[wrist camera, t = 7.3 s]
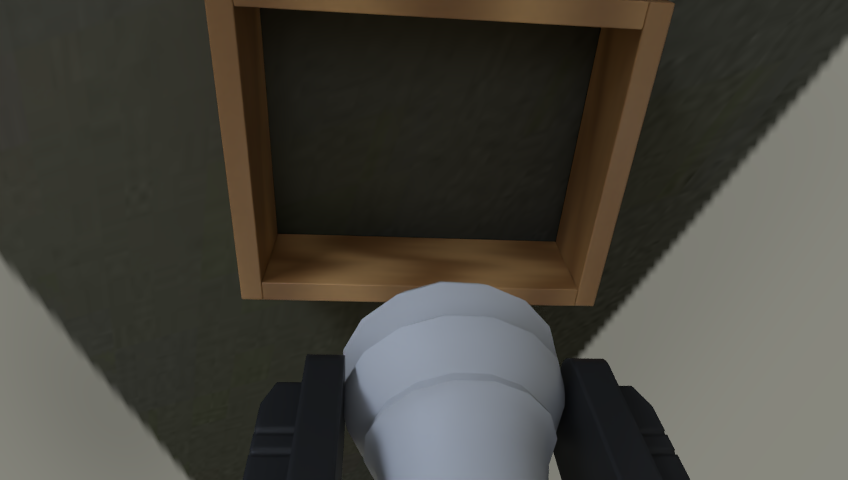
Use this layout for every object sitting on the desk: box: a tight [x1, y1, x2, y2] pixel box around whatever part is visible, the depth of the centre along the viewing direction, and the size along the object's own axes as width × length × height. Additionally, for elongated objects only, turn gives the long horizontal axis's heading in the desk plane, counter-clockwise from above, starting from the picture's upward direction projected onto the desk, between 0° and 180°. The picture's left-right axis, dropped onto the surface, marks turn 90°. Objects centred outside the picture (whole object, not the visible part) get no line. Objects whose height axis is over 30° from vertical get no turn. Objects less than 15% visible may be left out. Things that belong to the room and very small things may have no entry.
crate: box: [205, 0, 675, 306], centre depth 26 cm, size 17×14×4 cm
